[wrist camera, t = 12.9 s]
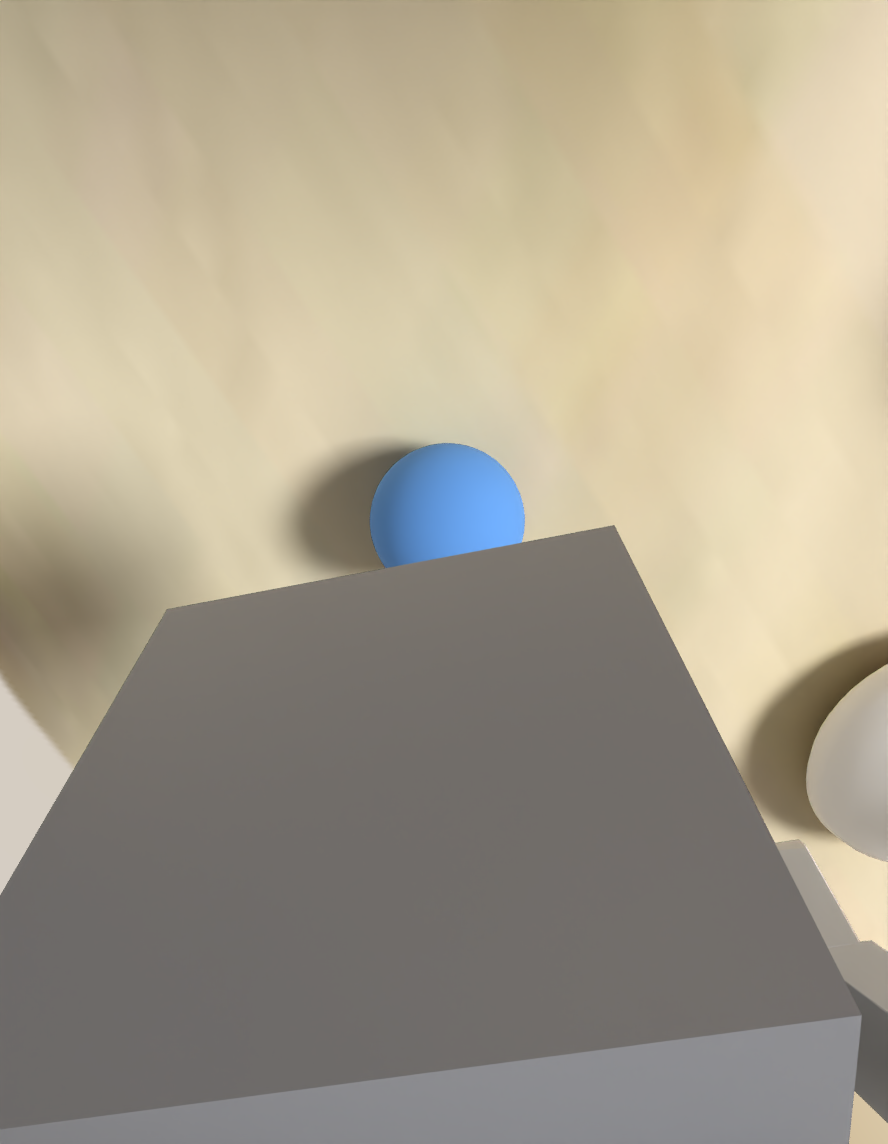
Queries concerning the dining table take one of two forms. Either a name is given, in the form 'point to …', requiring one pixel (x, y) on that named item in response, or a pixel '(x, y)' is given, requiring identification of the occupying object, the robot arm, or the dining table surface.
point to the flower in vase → (854, 768)
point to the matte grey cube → (417, 884)
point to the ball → (444, 506)
